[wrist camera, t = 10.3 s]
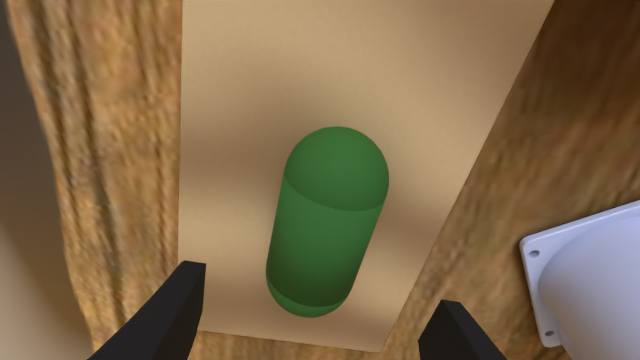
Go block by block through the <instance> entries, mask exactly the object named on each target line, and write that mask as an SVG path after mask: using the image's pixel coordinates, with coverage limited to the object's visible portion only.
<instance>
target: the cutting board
mask: <svg viewBox="0 0 640 360" xmlns="http://www.w3.org/2000/svg"><path fill="white" fill-rule="evenodd" d="M554 1H555V0H183V7H182V61H181V114H180V168H179V221H178V265H179V264H180V263H181V262H183V261H184V260H186V261H193V262H199V263H206V274H205V287H204V300H203V311H202V315H201V318H200V322H199V325H198V329H197V330H200V331H208V332H216V333H224V334H232V335H240V336H248V337H256V338H263V339H271V340H279V341H287V342H295V343H303V344H311V345H319V346H327V347H335V348H343V349H351V350H359V351H367V352H375V353H381V351H382V349H383V347H384V345H385V343H386V341H387V339H388V337H389V335H390V333H391V331H392V329H393V327H394V325H395V323H396V321H397V319H398V316H399V314H400V312H401V310H402V308H403V306H404V304H405V302H406V300H407V298H408V296H409V294H410V292H411V290H412V288H413V286H414V284H415V282H416V280H417V278H418V276H419V274H420V272H421V270H422V268H423V266H424V264H425V262H426V260H427V258H428V256H429V254H430V252H431V250H432V248H433V246H434V244H435V242H436V240H437V238H438V236H439V233H440V231H441V229H442V227H443V225H444V223H445V221H446V219H447V217H448V215H449V213H450V211H451V209H452V207H453V205H454V203H455V201H456V199H457V197H458V195H459V193H460V191H461V189H462V187H463V185H464V183H465V181H466V179H467V177H468V175H469V173H470V171H471V169H472V167H473V165H474V163H475V161H476V159H477V157H478V155H479V153H480V150H481V148H482V146H483V144H484V142H485V140H486V138H487V136H488V134H489V132H490V130H491V128H492V126H493V124H494V122H495V120H496V118H497V116H498V114H499V112H500V110H501V108H502V106H503V104H504V102H505V100H506V98H507V96H508V94H509V92H510V90H511V88H512V86H513V84H514V82H515V80H516V78H517V76H518V74H519V72H520V70H521V67H522V65H523V63H524V61H525V59H526V57H527V55H528V53H529V51H530V49H531V47H532V45H533V43H534V41H535V39H536V37H537V35H538V33H539V31H540V29H541V27H542V25H543V23H544V21H545V19H546V17H547V15H548V13H549V11H550V9H551V7H552V5H553V3H554ZM335 126H341V127H348V128H351V129H355V130H357V131H359V132H361V133H363V134H365V135H366V136H367V137H369V138H370V139H371V140H372V141H374V143H375V144H376V145H377V146H378V148H379V149H380V150H381V151H382V153H383V156H384V158H385V160H386V162H387V166H388V170H389V188H388V192H387V196H386V199H385V202H384V205H383V207H382V210H381V213H380V215H379V218H378V221H377V223H376V226H375V229H374V231H373V234H372V237H371V239H370V242H369V245H368V247H367V250H366V253H365V255H364V258H363V261H362V263H361V266H360V269H359V271H358V274H357V277H356V279H355V282H354V285H353V287H352V290H351V292H350V294H349V295H348V297H347V299H346V300H345V301H344V302H343V303H342V304H341V305H340V306H339V307H338V308H337V309H336V310H334V311H333V312H330V313H328V314H326V315H324V316H321V317H316V318H306V317H300V316H297V315H294V314H292V313H289V312H287V311H286V310H285V309H283V308H282V307H281V306H280V305H279V304H278V303H277V302H276V301H275V299H274V298H273V296H272V295H271V293H270V291H269V288H268V285H267V281H266V262H267V257H268V252H269V246H270V241H271V236H272V231H273V226H274V220H275V215H276V210H277V205H278V200H279V194H280V189H281V184H282V179H283V174H284V169H285V165H286V162H287V159H288V157H289V155H290V154H291V152H292V150H293V148H294V147H295V146H296V145H297V144H298V143H299V142H300V140H302V139H303V138H304V137H306V136H307V135H309V134H310V133H312V132H314V131H316V130H319V129H322V128H325V127H335Z"/></svg>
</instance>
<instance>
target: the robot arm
mask: <svg viewBox="0 0 640 360" xmlns="http://www.w3.org/2000/svg"><path fill="white" fill-rule="evenodd" d="M519 248H520V252H521V257H522V261H523V266H524V270H525V275H526V279H527V284H528V288H529V293H530V297H531V302H532V306H533V311H534V315H535V320H536V324H537V329H538V333H539V338H540V341H541V342H542V344H543V346H545V347H554V346H558V345H563V347H564V348H565V350H566V351H567V353H568V354H569V356H570V357H571V359H572V360H640V200H638V201H635V202H632V203H629V204H626V205H623V206H619V207H616V208H613V209H610V210H607V211H604V212H601V213H598V214H595V215H592V216H588V217H585V218H582V219H579V220H576V221H573V222H570V223H567V224H564V225H560V226H557V227H554V228H551V229H548V230H545V231H542V232H539V233H536V234H533V235H529V236H527V237H525V238H523V239H522V240H521V241H520V243H519ZM532 251H533V252H532ZM530 252H531V253H530ZM205 274H206V263H199V262H193V261H186V260H184V261H183V262H181V263H180V264H179V265H178V267H177V268H176V269H175V270H174V272H173V273H172V274H171V275H170V276H169V278H168V279H167V280H166V281H165V282H164V283H163V285H162V286H161V287H160V288H159V289H158V290H157V291H156V292H155V294H154V295H153V296H152V297H151V298H150V299H149V300H148V301H147V302H146V303H145V304H144V305H143V306H142V307H141V308H140V309H139V310H138V312H137V313H136V314H135V315H134V316H133V317H132V318H131V319H130V320H129V321H128V322H127V323H126V324H125V325H124V326H123V327H122V328H121V329H120V330H119V331H117V332H116V333H115V334H114V335H113V336H112V337H111V338H110V339H109V340H108V341H107V342H106V343H105V344H104V345H103V346H102V347H101V348H100V349H98V350H97V351H96V352H95V353H94V354H93V355H92V356H91V357H90V358H88V359H87V360H187V358H188V356H189V353H190V351H191V348H192V346H193V342H194V339H195V336H196V332H197V329H198V325H199V322H200V318H201V315H202V311H203V300H204V287H205ZM418 344H419V352H420V359H421V360H507V359H506V358H505V357H504V356H503V354H502V353H501V352H500V351H499V349H498V348H497V347H496V346H495V345H494V343H493V342H492V341H491V340H490V338H489V337H488V336H487V335H486V333H485V332H484V331H483V330H482V328H481V327H480V326H479V325H478V324H477V322H476V321H475V320H474V319H473V317H472V316H471V315H470V314H469V313H468V311H467V310H466V309H465V308H464V307H463V305H462V304H461V303H460V302H455V301H448V300H442V299H441V301H440V303H439V305H438V306H437V308H436V310H435V312H434V313H433V315H432V317H431V319H430V320H429V322H428V324H427V326H426V327H425V329H424V331H423V333H422V334H421V336H420V338H419V340H418Z"/></svg>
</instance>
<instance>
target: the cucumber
mask: <svg viewBox="0 0 640 360" xmlns="http://www.w3.org/2000/svg"><path fill="white" fill-rule="evenodd" d="M388 188H389V170H388V166H387V162H386V160H385V158H384V156H383V153H382V151H381V150H380V149H379V148H378V146H377V145H376V144H375V143H374V141H372V140H371V139H370V138H369V137H367V136H366V135H365V134H363V133H361V132H359V131H357V130H355V129H351V128H348V127H341V126H335V127H325V128H322V129H319V130H316V131H314V132H312V133H310V134H309V135H307V136H306V137H304V138H303V139H302V140H300V142H299V143H298V144H297V145H296V146H295V147H294V148H293V150H292V152H291V154H290V155H289V157H288V159H287V162H286V165H285V169H284V174H283V179H282V184H281V189H280V194H279V200H278V205H277V210H276V215H275V220H274V226H273V231H272V236H271V241H270V246H269V252H268V257H267V262H266V281H267V285H268V288H269V291H270V293H271V295H272V296H273V298H274V299H275V301H276V302H277V303H278V304H279V305H280V306H281V307H282V308H283V309H285V310H286V311H287V312H289V313H292V314H294V315H297V316H300V317H306V318H316V317H321V316H324V315H326V314H328V313H330V312H333V311H334V310H336V309H337V308H338V307H339V306H340V305H341V304H342V303H343V302H344V301H345V300H346V299H347V297H348V295H349V294H350V292H351V290H352V287H353V285H354V282H355V279H356V277H357V274H358V271H359V269H360V266H361V263H362V261H363V258H364V255H365V253H366V250H367V247H368V245H369V242H370V239H371V237H372V234H373V231H374V229H375V226H376V223H377V221H378V218H379V215H380V213H381V210H382V207H383V205H384V202H385V199H386V196H387V192H388Z"/></svg>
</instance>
